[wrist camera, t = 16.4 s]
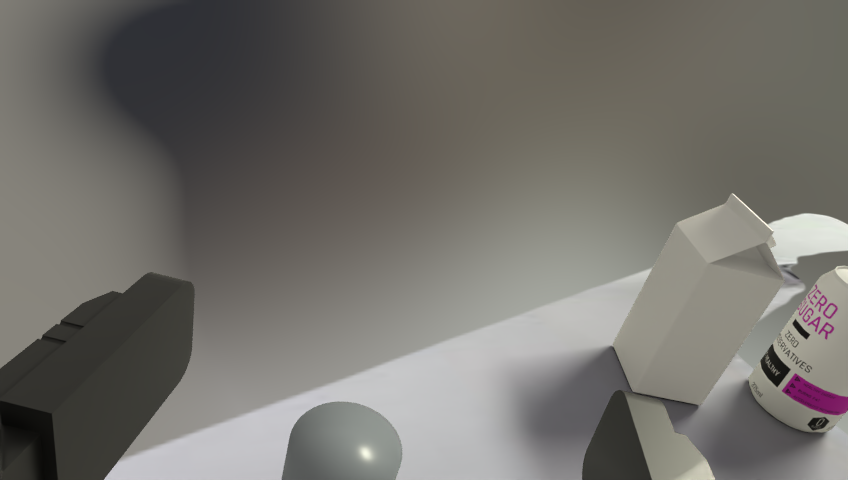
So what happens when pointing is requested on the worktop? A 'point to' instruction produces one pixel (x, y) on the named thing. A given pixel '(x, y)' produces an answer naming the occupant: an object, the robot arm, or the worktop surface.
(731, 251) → the milk carton
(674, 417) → the worktop surface
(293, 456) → the grey rounded cylinder
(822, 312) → the supplement can
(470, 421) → the worktop surface
